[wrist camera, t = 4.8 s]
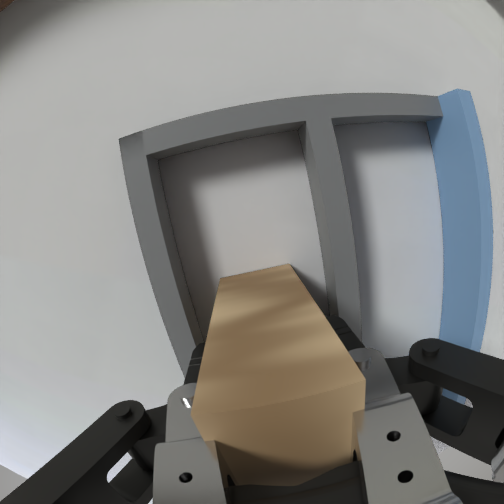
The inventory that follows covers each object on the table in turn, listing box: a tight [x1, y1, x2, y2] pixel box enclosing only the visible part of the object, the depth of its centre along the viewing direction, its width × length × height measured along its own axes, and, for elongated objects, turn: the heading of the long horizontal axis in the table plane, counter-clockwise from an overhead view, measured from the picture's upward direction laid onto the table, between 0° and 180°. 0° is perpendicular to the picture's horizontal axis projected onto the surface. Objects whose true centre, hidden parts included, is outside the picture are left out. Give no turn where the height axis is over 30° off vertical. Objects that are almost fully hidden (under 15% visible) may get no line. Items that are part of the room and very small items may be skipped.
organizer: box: [119, 89, 493, 405], centre depth 11 cm, size 15×18×3 cm
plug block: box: [191, 264, 366, 486], centre depth 8 cm, size 3×5×8 cm, turn 12°
